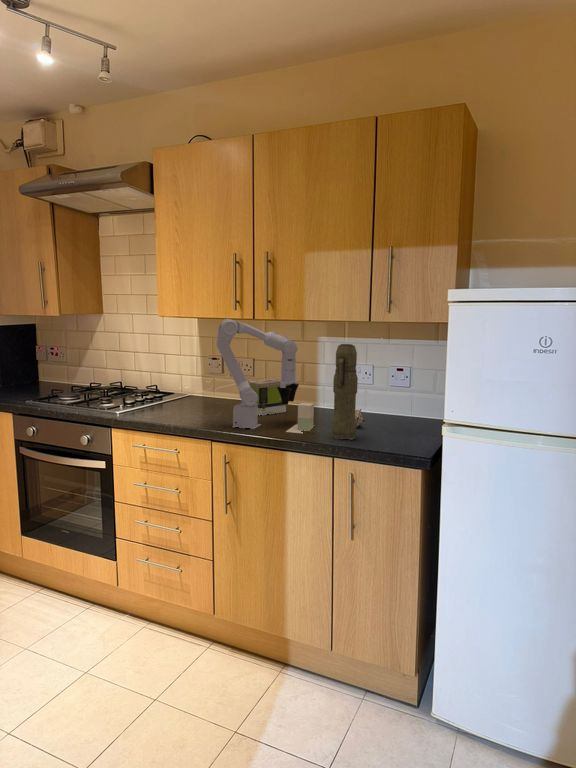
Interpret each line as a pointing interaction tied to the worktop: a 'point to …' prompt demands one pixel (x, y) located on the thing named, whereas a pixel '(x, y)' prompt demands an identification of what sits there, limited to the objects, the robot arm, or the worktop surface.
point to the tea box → (268, 396)
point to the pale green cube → (305, 424)
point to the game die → (358, 417)
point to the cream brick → (305, 410)
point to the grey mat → (294, 429)
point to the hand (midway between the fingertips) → (288, 402)
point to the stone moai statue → (345, 392)
